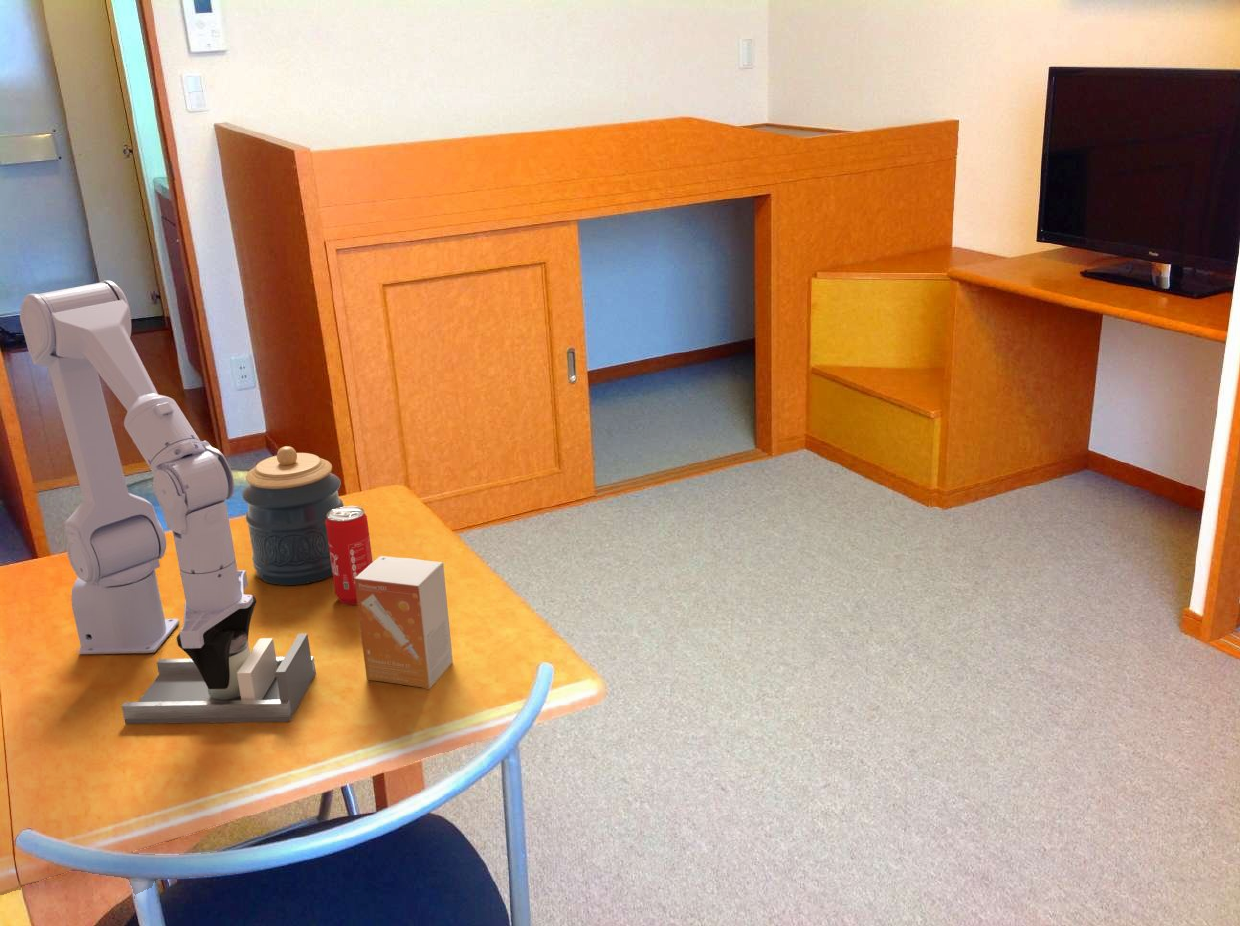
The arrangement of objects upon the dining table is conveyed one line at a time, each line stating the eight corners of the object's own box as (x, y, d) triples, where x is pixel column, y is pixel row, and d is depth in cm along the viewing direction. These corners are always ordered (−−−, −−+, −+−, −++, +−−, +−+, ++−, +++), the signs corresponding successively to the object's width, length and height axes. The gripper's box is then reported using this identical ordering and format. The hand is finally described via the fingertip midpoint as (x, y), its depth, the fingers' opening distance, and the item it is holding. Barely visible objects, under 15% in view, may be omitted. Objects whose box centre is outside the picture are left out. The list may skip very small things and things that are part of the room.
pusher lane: (125, 723, 125) (115, 678, 123) (162, 675, 135) (154, 632, 133) (289, 721, 125) (282, 675, 123) (315, 673, 134) (309, 629, 132)
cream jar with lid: (202, 700, 127) (193, 652, 125) (215, 676, 131) (206, 629, 129) (248, 697, 127) (240, 649, 125) (260, 674, 132) (252, 627, 129)
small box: (365, 681, 132) (351, 577, 127) (392, 654, 137) (380, 553, 133) (430, 690, 129) (418, 585, 125) (454, 662, 135) (444, 560, 131)
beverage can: (367, 608, 149) (356, 522, 145) (329, 605, 150) (317, 520, 146) (382, 590, 154) (372, 506, 149) (346, 587, 155) (335, 504, 150)
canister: (234, 575, 160) (214, 454, 154) (304, 540, 170) (287, 426, 164) (301, 595, 153) (283, 470, 147) (370, 557, 163) (355, 439, 157)
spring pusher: (242, 708, 126) (236, 673, 124) (265, 672, 133) (259, 638, 131) (256, 708, 126) (250, 672, 124) (278, 672, 133) (272, 638, 131)
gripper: (220, 592, 117) (240, 709, 122) (266, 534, 130) (283, 640, 135) (151, 593, 117) (174, 710, 122) (204, 535, 131) (223, 642, 135)
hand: (227, 674), depth 129 cm, fingers closed on cream jar with lid, 5 cm apart
